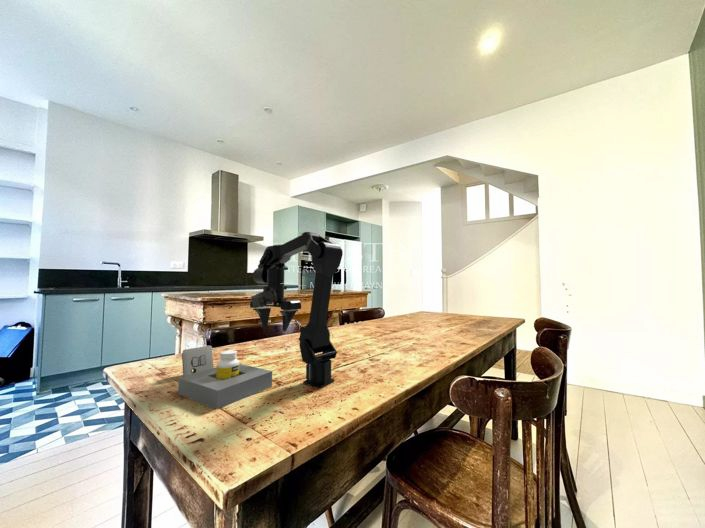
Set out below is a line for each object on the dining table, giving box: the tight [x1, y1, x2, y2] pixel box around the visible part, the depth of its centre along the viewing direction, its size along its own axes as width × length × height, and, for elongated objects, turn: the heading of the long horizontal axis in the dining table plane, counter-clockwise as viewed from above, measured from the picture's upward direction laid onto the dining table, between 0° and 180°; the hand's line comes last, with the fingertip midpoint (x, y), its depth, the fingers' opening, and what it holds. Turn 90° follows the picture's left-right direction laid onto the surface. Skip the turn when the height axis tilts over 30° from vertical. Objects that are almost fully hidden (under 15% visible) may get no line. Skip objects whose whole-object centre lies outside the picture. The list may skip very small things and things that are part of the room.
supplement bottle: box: [216, 349, 240, 380], centre depth 73 cm, size 5×5×10 cm
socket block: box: [177, 363, 273, 410], centre depth 73 cm, size 16×16×4 cm
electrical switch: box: [181, 345, 215, 377], centre depth 86 cm, size 8×5×8 cm, turn 141°
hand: (274, 330), depth 94 cm, fingers open, 9 cm apart
